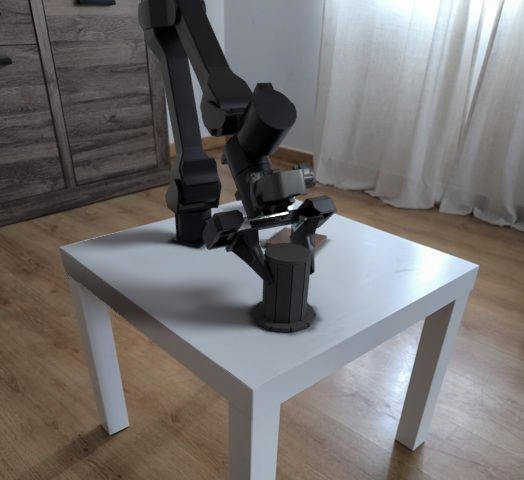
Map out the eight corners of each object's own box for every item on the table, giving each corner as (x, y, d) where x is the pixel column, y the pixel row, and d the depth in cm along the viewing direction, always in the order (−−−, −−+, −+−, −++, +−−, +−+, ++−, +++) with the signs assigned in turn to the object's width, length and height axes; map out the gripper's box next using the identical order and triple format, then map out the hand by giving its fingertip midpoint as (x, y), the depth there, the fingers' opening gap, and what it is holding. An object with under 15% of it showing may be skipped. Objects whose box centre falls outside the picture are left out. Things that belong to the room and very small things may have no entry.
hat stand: (265, 247, 92) (266, 216, 89) (284, 231, 99) (286, 202, 96) (309, 256, 89) (312, 225, 86) (326, 240, 96) (329, 210, 92)
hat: (241, 322, 70) (242, 257, 64) (269, 295, 77) (272, 234, 71) (300, 339, 67) (305, 272, 61) (323, 309, 73) (330, 246, 68)
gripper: (208, 146, 57) (253, 270, 56) (336, 134, 65) (378, 242, 64) (186, 195, 67) (223, 300, 66) (299, 179, 75) (334, 273, 74)
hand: (291, 278), depth 67 cm, fingers closed on hat, 6 cm apart
